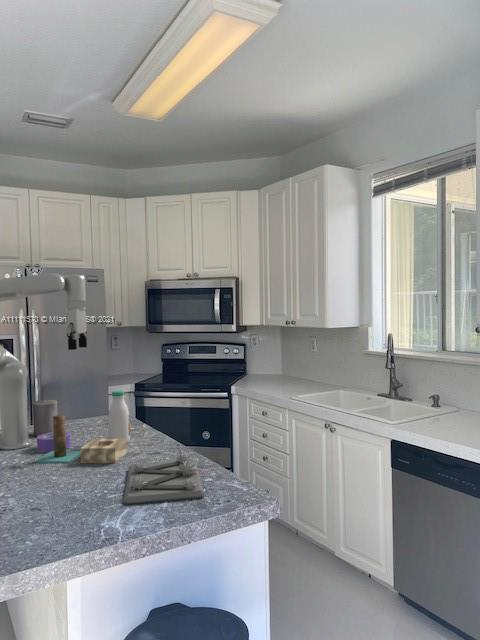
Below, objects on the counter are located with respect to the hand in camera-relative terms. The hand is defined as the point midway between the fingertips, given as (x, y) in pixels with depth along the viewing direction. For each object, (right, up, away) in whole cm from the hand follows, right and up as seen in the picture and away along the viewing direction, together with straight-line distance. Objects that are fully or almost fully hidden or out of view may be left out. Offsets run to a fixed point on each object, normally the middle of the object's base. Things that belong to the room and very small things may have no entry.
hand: (77, 348), depth 199 cm
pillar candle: (-16, -37, +10) cm, 41 cm away
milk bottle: (+18, -36, -6) cm, 41 cm away
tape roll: (-5, -37, -11) cm, 39 cm away
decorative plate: (+42, -38, -52) cm, 76 cm away
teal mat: (+2, -37, -24) cm, 44 cm away
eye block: (+18, -37, -25) cm, 48 cm away
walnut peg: (+2, -36, -24) cm, 44 cm away
